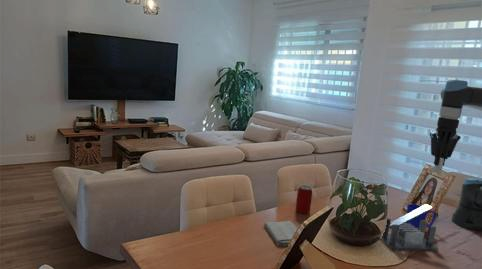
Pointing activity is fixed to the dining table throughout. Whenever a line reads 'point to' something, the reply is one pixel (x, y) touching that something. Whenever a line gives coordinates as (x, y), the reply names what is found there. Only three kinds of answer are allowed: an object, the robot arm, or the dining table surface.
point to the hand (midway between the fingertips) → (437, 172)
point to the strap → (410, 215)
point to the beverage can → (304, 199)
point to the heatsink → (409, 237)
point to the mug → (416, 220)
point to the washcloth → (281, 231)
